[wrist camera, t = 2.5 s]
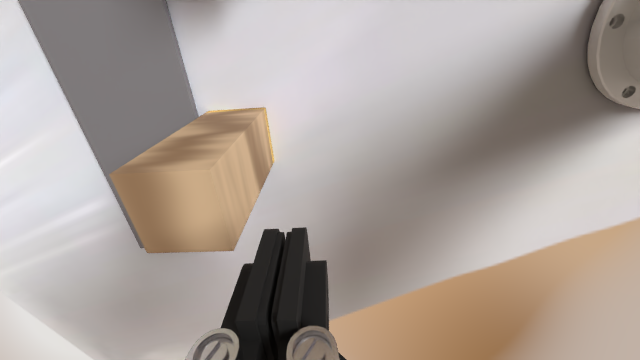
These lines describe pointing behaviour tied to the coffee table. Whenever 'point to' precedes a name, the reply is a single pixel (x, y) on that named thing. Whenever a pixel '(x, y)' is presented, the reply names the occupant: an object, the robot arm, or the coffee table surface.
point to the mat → (116, 74)
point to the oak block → (198, 182)
